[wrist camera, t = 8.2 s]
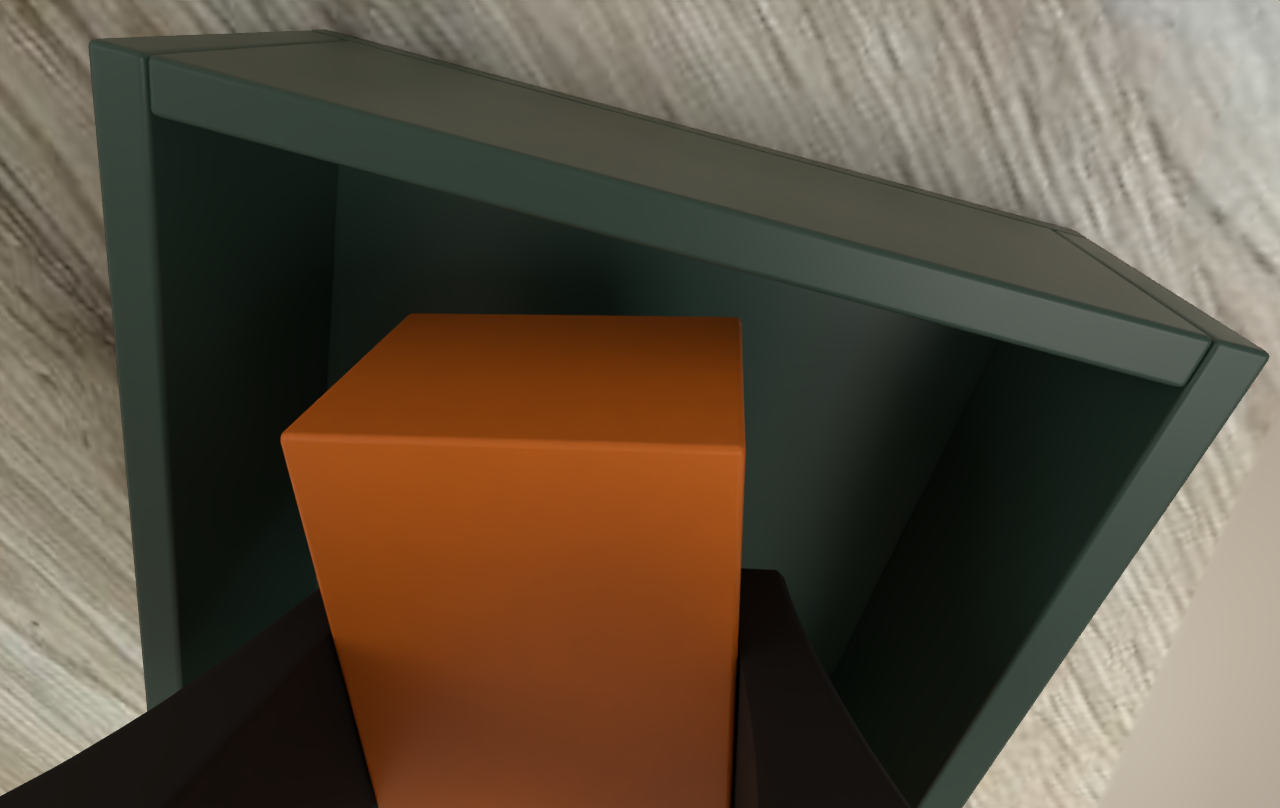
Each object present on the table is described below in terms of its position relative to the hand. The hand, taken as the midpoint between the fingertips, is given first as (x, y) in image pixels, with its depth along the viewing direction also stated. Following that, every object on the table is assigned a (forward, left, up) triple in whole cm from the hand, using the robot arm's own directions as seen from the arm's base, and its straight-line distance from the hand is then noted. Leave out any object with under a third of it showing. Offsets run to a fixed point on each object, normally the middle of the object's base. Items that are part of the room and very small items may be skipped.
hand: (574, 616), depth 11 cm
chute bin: (0, 0, -4) cm, 4 cm away
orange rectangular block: (0, 0, -1) cm, 1 cm away
